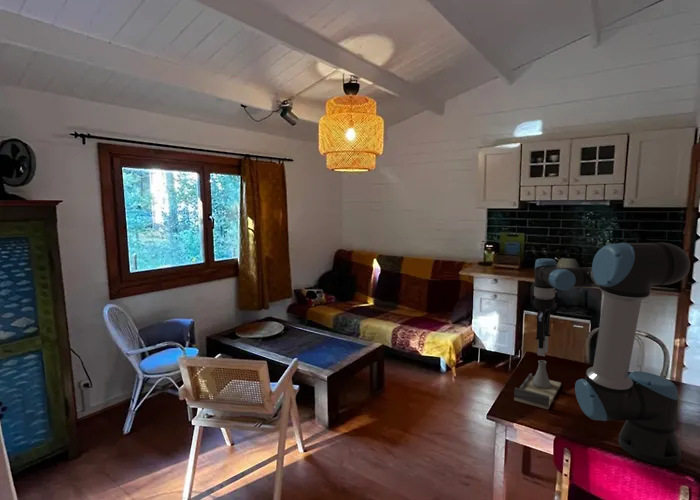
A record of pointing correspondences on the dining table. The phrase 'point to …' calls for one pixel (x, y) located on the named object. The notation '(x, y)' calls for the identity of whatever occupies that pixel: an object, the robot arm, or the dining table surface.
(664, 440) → the robot arm
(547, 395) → the stand board
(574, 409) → the dining table surface
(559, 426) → the dining table surface
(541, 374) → the flask
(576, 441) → the dining table surface
